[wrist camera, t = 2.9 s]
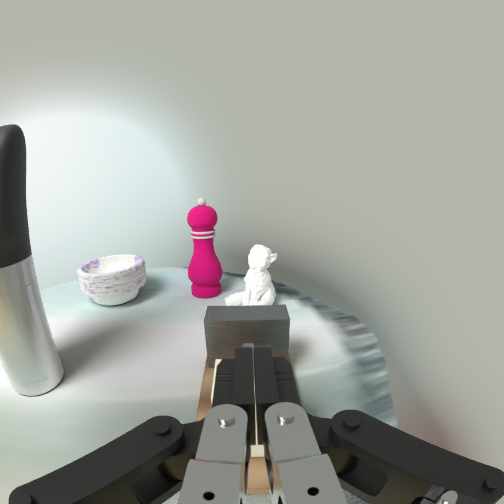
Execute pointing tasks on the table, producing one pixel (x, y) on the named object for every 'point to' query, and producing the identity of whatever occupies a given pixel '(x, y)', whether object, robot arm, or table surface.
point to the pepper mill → (204, 252)
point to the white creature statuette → (256, 280)
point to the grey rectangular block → (245, 330)
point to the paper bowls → (112, 278)
